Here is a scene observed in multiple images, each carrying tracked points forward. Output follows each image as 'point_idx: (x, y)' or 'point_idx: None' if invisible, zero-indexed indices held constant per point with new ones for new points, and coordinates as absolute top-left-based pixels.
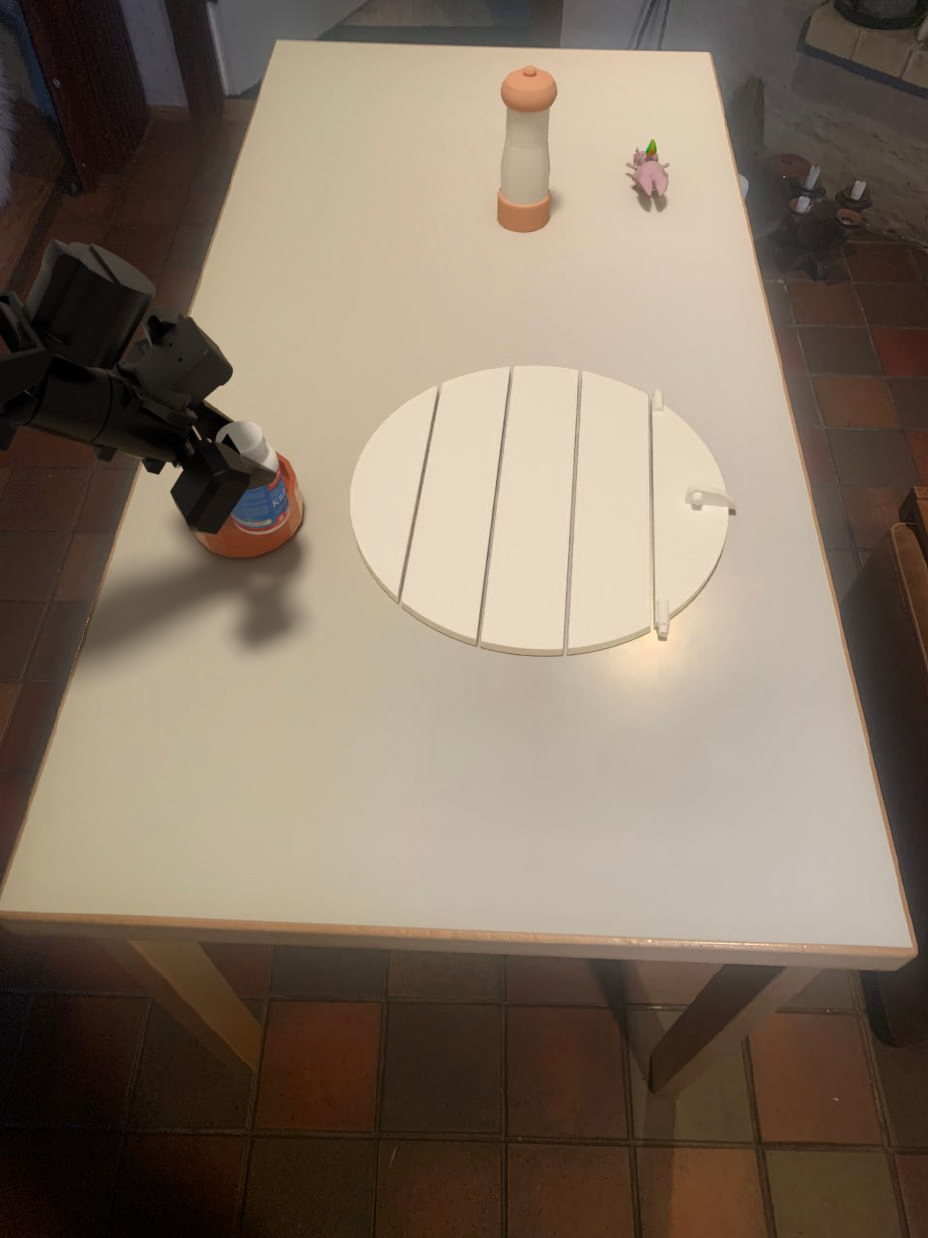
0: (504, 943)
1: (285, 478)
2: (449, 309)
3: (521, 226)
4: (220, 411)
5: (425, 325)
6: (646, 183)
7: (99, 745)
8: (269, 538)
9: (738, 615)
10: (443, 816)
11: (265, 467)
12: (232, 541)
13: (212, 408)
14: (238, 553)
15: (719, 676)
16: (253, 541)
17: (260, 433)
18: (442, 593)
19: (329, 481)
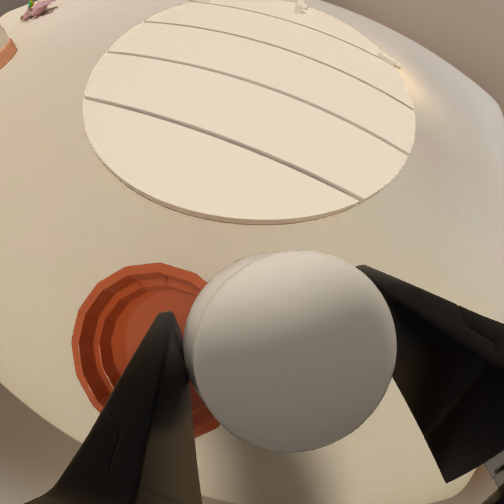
0: None
1: (138, 283)
2: (21, 96)
3: (8, 57)
4: (109, 403)
5: (20, 112)
6: (45, 3)
7: (402, 485)
8: None
9: (378, 41)
10: (496, 238)
11: (386, 285)
12: None
13: (122, 451)
14: None
15: (416, 67)
16: None
17: (315, 259)
18: (361, 160)
19: (142, 232)
